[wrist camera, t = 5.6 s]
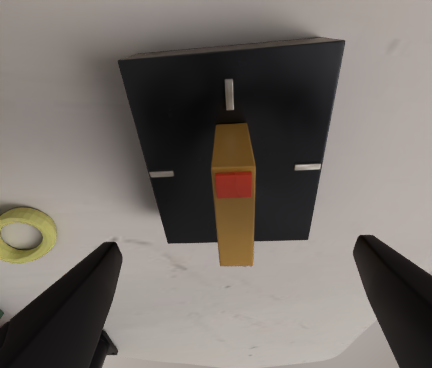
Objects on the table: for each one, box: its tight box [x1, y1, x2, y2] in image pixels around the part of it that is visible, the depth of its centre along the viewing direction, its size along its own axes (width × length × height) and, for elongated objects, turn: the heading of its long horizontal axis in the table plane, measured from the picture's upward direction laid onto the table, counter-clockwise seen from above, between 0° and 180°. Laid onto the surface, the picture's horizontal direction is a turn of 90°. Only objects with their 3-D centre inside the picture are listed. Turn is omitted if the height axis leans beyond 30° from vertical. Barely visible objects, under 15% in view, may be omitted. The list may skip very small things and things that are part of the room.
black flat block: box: [118, 37, 345, 243], centre depth 15 cm, size 12×10×3 cm
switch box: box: [211, 123, 256, 266], centre depth 12 cm, size 6×2×5 cm, turn 4°
